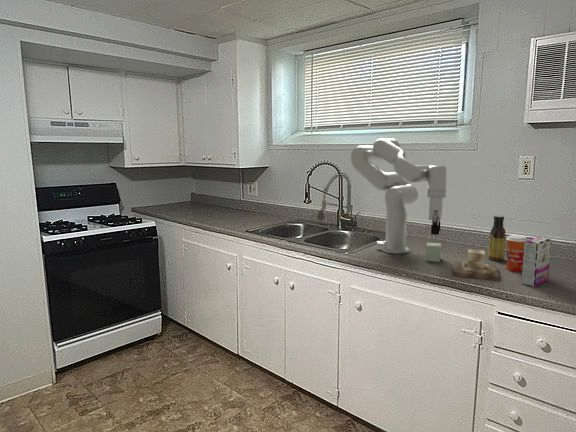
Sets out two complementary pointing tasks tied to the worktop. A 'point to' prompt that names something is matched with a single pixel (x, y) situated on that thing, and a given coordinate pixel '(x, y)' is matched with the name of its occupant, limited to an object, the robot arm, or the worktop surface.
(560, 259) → the worktop surface
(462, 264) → the base plate
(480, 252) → the maple block
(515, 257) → the paper cup
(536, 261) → the candy bar box
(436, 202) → the robot arm
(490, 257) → the sauce bottle
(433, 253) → the sage block
